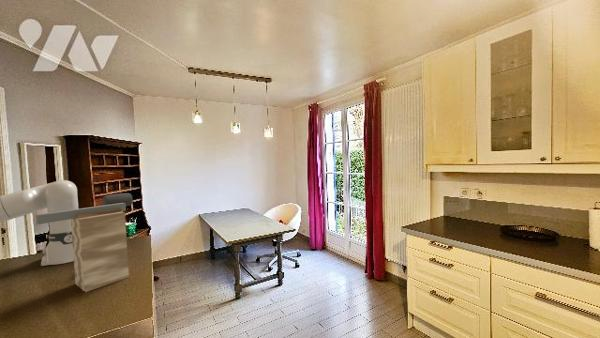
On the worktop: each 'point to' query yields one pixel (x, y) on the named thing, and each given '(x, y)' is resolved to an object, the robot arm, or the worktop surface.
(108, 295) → the worktop surface
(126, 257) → the tan streaked block
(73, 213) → the grey bar
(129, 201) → the rubber mallet
